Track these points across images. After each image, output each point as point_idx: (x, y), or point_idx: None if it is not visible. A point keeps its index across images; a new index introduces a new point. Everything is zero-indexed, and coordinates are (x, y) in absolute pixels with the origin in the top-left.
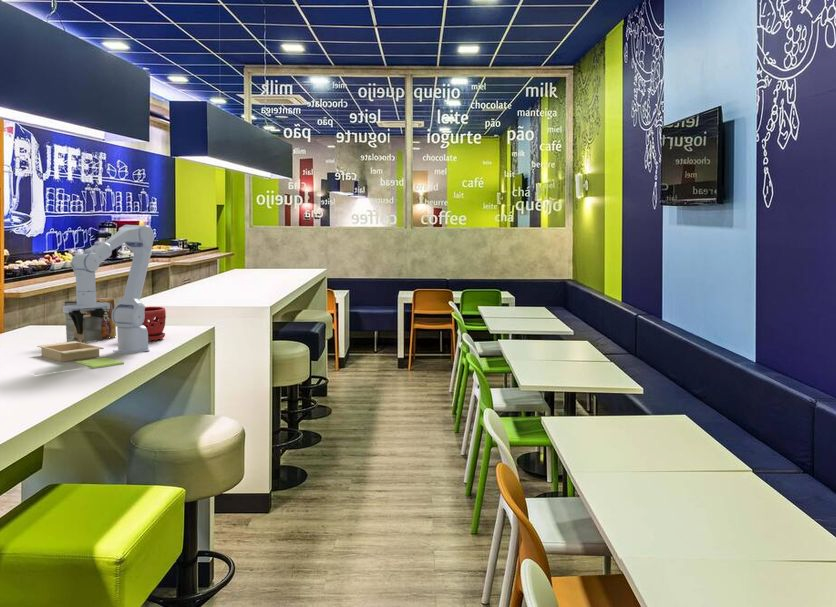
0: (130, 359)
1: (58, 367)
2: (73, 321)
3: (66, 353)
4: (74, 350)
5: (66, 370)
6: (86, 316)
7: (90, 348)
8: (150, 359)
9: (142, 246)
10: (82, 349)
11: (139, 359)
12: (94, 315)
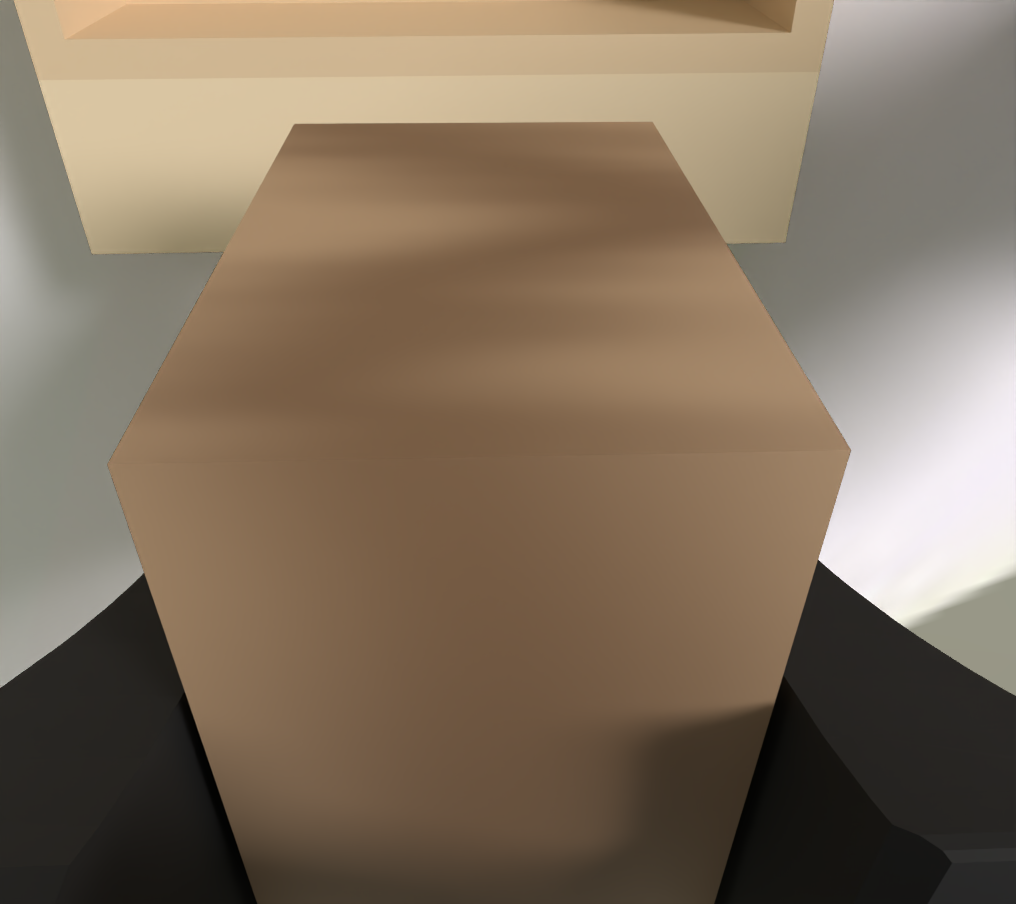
0: (869, 453)
1: (23, 327)
2: (75, 658)
3: (120, 251)
4: (306, 115)
5: (79, 521)
6: (561, 745)
7: None
8: (970, 571)
9: None
10: (459, 122)
11: (917, 510)
12: (755, 880)
